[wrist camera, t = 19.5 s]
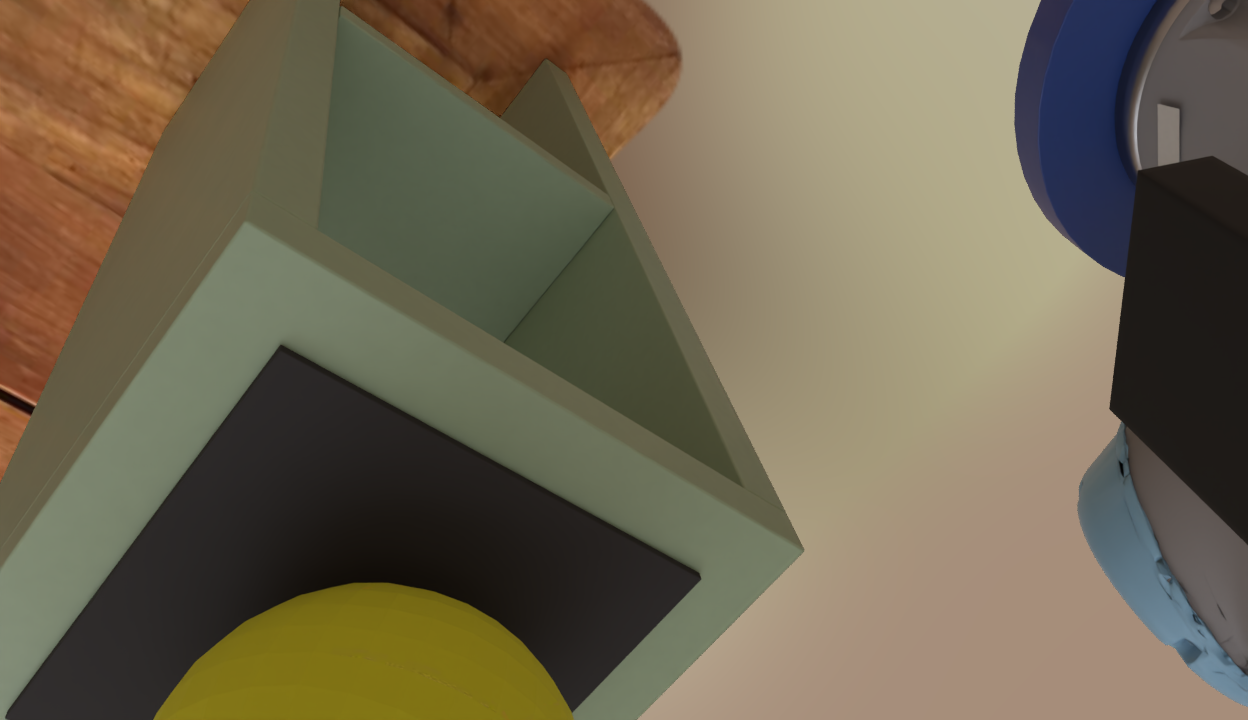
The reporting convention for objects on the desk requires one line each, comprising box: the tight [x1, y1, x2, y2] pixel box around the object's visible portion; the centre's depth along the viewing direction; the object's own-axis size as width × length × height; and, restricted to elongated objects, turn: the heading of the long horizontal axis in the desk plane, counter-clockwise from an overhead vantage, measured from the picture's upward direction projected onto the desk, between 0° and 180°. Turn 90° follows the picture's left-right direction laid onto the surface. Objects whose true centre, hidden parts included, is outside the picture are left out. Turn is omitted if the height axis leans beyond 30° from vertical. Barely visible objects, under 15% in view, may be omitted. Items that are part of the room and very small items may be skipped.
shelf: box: [0, 0, 804, 720], centre depth 35 cm, size 12×12×32 cm
